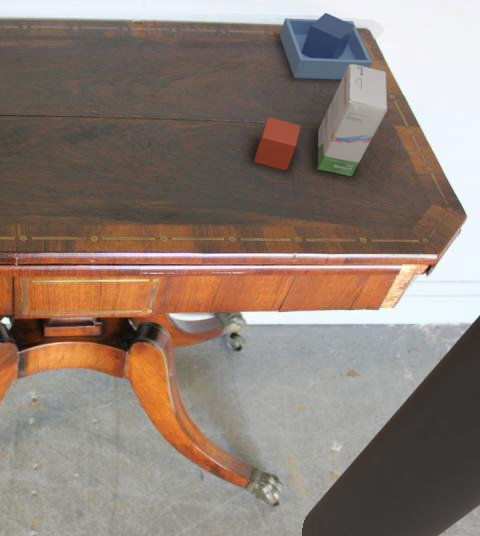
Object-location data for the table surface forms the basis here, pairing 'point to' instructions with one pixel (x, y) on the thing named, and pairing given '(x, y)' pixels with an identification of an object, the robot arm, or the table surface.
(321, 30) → the blue block
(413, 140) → the table surface
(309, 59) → the blue bin
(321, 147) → the ink box
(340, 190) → the table surface
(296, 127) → the red block
